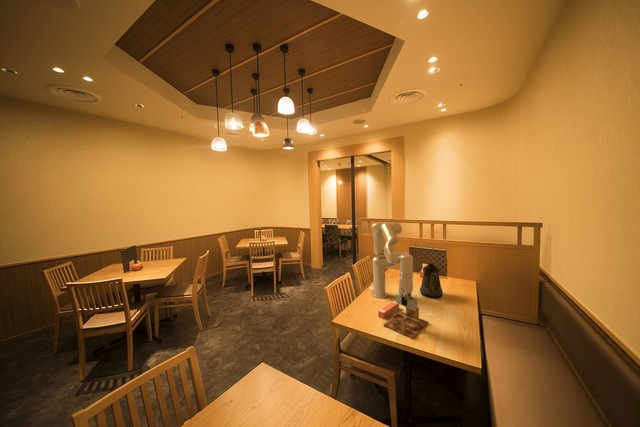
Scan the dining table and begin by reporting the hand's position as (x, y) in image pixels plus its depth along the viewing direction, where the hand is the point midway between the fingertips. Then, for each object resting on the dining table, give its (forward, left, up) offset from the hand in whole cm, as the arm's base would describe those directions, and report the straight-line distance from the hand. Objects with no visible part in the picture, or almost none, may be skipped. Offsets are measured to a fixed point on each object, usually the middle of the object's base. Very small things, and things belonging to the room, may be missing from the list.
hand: (406, 303), depth 135 cm
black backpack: (-5, +54, -14) cm, 56 cm away
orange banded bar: (-15, +6, -14) cm, 22 cm away
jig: (0, 0, -14) cm, 14 cm away
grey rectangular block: (0, 0, -1) cm, 1 cm away
